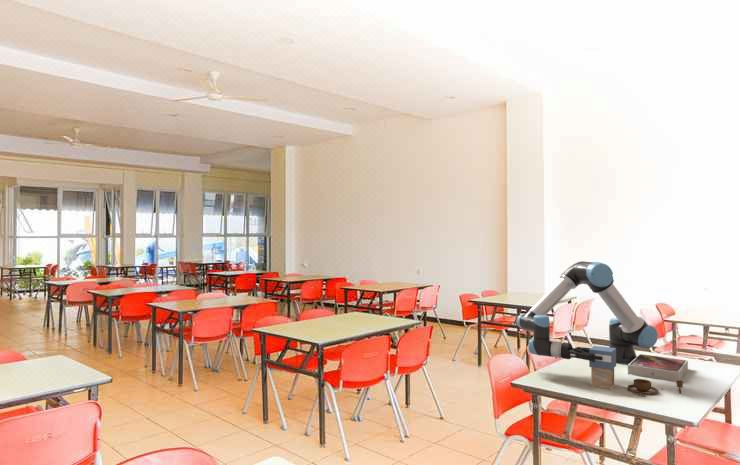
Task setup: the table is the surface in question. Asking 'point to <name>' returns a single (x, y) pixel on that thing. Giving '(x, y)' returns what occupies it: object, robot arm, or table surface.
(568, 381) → the table surface
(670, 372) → the product packaging
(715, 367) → the table surface
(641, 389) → the place setting
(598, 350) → the blue cube
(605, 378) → the box
